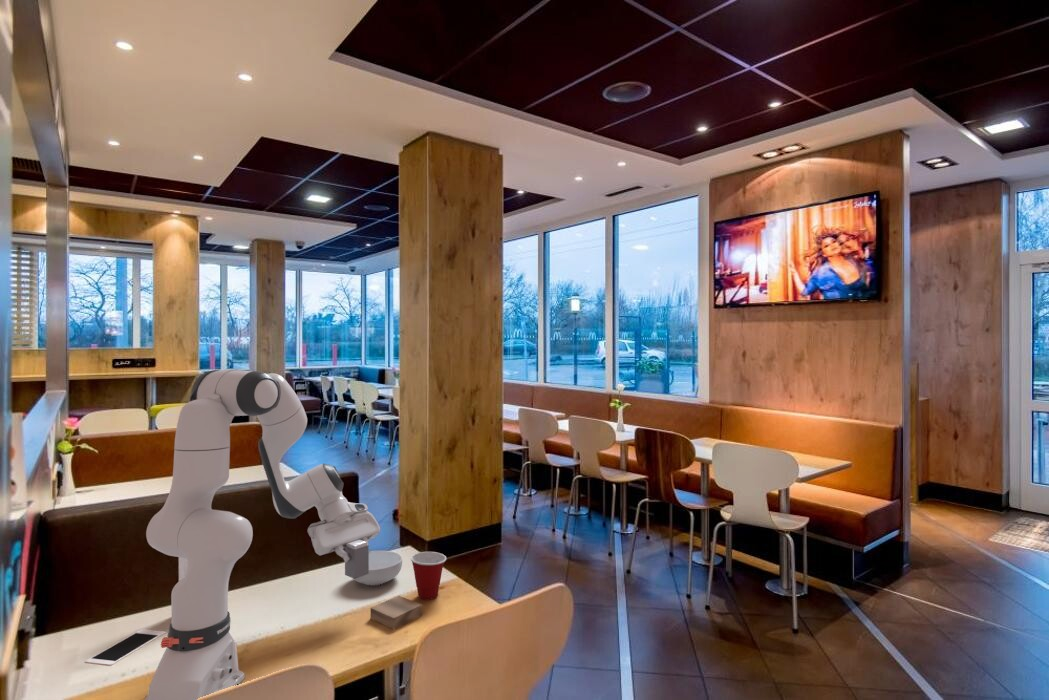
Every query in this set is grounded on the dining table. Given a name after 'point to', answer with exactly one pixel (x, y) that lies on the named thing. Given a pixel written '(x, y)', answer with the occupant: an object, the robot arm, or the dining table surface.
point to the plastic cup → (428, 573)
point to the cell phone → (125, 647)
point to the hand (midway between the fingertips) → (358, 557)
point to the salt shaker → (357, 559)
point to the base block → (396, 612)
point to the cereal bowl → (381, 567)
